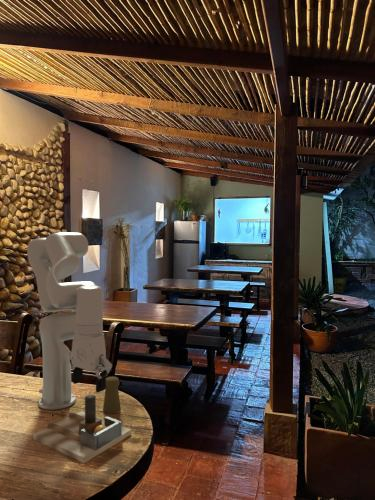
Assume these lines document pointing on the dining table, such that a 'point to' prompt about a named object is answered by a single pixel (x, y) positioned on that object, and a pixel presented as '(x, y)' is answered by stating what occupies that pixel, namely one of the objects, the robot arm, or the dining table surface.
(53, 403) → the robot arm
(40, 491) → the dining table surface
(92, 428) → the player block
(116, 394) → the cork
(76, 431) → the lane board
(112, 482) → the dining table surface
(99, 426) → the ball
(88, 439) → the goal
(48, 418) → the dining table surface
